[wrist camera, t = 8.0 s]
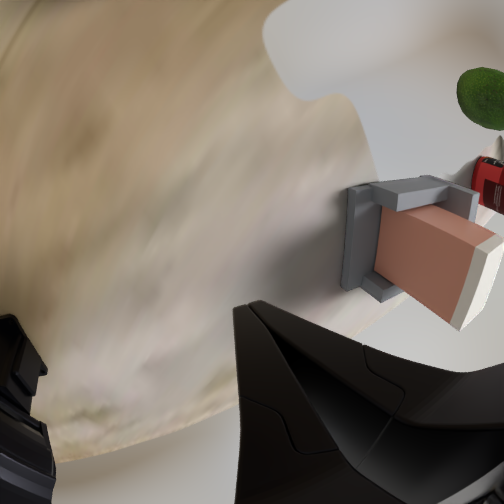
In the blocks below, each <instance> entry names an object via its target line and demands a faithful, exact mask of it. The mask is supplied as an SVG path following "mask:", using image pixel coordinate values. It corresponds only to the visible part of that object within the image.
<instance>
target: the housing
mask: <svg viewBox="0 0 504 504" xmlns="http://www.w3.org/2000/svg"><path fill="white" fill-rule="evenodd" d="M479 196H480V193H478V192H476V191H473V190H471V189H468V188H465V187H463V186H460V185H457V184H454V183H452V182H449V181H446V180H443V179H440V178H437V177H434V176H431V175H424V176H420V177H418V178H409V179H400V180H392V181H384V182H376V183H369V185H363V186H356V187H349V188H348V206H347V223H346V237H345V249H344V260H343V270H342V279H341V287H342V288H343V289H344V290H345V291H349V290H352V289H354V288H357V287H361V288H362V289H363V290H365V291H366V292H367V293H368V294H370V295H371V296H372V297H374V298H375V299H376V300H377V301H379V302H380V303H382V302H384V301H386V300H388V299H390V298H392V297H394V296H396V295H398V294H400V293H402V292H404V291H403V290H402V289H400V288H399V287H398V286H396V285H395V284H393V283H392V282H390V281H389V280H388V279H386V278H385V277H383V276H382V275H380V274H379V273H377V272H376V271H374V267H375V261H376V254H377V247H378V239H379V232H380V223H381V214H382V206H384V207H387V208H389V209H391V210H394V211H396V212H398V211H402V210H406V209H411V208H415V207H419V206H423V205H428V204H432V205H435V206H437V207H440V208H442V209H444V210H447V211H449V212H451V213H453V214H456V215H458V216H460V217H462V218H465V219H467V220H469V221H471V222H473V223H475V218H476V213H477V207H478V202H479Z"/></svg>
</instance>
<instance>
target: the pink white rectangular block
mask: <svg viewBox="0 0 504 504" xmlns="http://www.w3.org/2000/svg"><path fill="white" fill-rule="evenodd" d="M503 252H504V237H502V236H500V235H498V234H496V233H494V232H492V231H490V230H488V229H486V228H484V227H482V226H480V225H477V224H475V223H473V222H471V221H469V220H467V219H465V218H462V217H460V216H458V215H456V214H453V213H451V212H449V211H447V210H444V209H442V208H440V207H437V206H435V205H432V204H428V205H423V206H419V207H415V208H411V209H406V210H402V211H398V212H396V211H394V210H391V209H389V208H387V207H384V206H382V214H381V223H380V232H379V239H378V247H377V254H376V261H375V267H374V271H376V272H377V273H379V274H380V275H382V276H383V277H385V278H386V279H388V280H389V281H390V282H392V283H393V284H395V285H396V286H398V287H399V288H400V289H402V290H403V291H405V292H406V293H408V294H409V295H410V296H412V297H413V298H415V299H416V300H417V301H419V302H420V303H422V304H423V305H424V306H426V307H427V308H429V309H430V310H431V311H433V312H434V313H435V314H437V315H438V316H439V317H441V318H442V319H443V320H445V321H446V322H448V323H449V324H450V325H451V326H453V327H454V328H455V329H457V330H458V331H461V330H462V329H463V328H464V327H465V326H466V325H467V324H468V323H469V322H470V321H471V320H472V319H473V318H474V317H475V316H476V315H477V314H478V313H479V312H480V311H481V310H482V309H483V308H484V305H485V303H486V301H487V298H488V296H489V293H490V291H491V288H492V285H493V282H494V279H495V277H496V274H497V271H498V268H499V265H500V261H501V258H502V255H503Z"/></svg>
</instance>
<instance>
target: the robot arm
mask: <svg viewBox="0 0 504 504" xmlns="http://www.w3.org/2000/svg"><path fill="white" fill-rule="evenodd" d="M11 320H12V321H13V322H12V321H11ZM233 325H234V340H235V355H236V369H237V382H238V395H239V409H240V448H239V460H238V471H237V482H236V493H235V503H234V504H504V363H501V364H498V365H495V366H492V367H488V368H485V369H482V370H478V371H473V372H453V371H448V370H444V369H440V368H436V367H432V366H428V365H425V364H421V363H417V362H413V361H410V360H406V359H403V358H400V357H397V356H393V355H391V354H388V353H385V352H382V351H380V350H377V349H374V348H372V347H369V346H367V345H362V343H359V342H357V341H354V340H352V339H350V338H347V337H345V336H342V335H340V334H338V333H335V332H333V331H330V330H328V329H326V328H323V327H321V326H319V325H316V324H314V323H312V322H309V321H307V320H305V319H303V318H300V317H298V316H296V315H293V314H291V313H289V312H287V311H284V310H282V309H280V308H278V307H275V306H273V305H271V304H269V303H267V302H264V301H262V300H257V301H254V302H251V303H248V304H247V305H245V304H244V305H241V306H237V307H234V308H233ZM47 372H48V368H47V367H46V365H45V364H44V362H43V361H42V359H41V357H40V356H39V354H38V353H37V351H36V349H35V348H34V346H33V345H32V343H31V341H30V340H29V338H28V337H27V335H26V334H25V332H24V330H23V329H22V327H21V325H20V323H19V321H18V320H17V318H16V317H15V316H14V315H12V314H9V315H5V316H1V317H0V504H51V499H52V492H53V488H54V485H55V482H56V467H55V461H54V457H53V453H52V449H51V445H50V440H49V436H48V431H47V426H46V424H45V423H43V422H41V421H38V420H36V419H35V418H33V417H31V416H30V410H31V402H32V396H35V395H36V389H37V383H38V377H39V376H44V375H47Z"/></svg>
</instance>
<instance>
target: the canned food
mask: <svg viewBox="0 0 504 504" xmlns="http://www.w3.org/2000/svg"><path fill="white" fill-rule="evenodd" d="M471 190H473V191H476V192H478V193H480V196H479V202H478V204H480V205H483V206H485V207H487V208H490V209H492V210H494V211H496V212H498V213H500V214H503V215H504V162H503V161H500V160H497V159H494V158H491V157H481V158H480V159H479V160H478V162H477V164H476V166H475V169H474V172H473V177H472V186H471Z"/></svg>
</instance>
